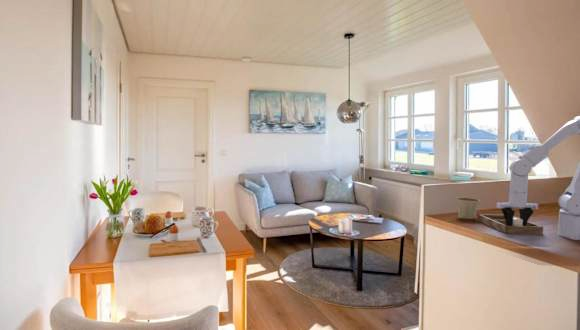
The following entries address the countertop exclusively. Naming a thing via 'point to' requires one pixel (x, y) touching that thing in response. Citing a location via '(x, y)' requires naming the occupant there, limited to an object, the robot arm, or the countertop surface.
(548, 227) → the countertop surface
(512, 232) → the bin
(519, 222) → the white rounded egg-shaped piece
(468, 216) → the flower pot
